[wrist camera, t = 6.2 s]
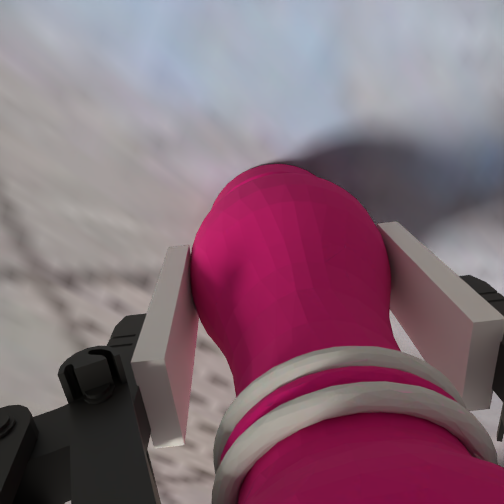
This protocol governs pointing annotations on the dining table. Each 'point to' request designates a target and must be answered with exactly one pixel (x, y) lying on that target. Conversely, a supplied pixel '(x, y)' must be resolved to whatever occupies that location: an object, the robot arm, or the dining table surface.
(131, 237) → the dining table surface
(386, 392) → the pepper mill
